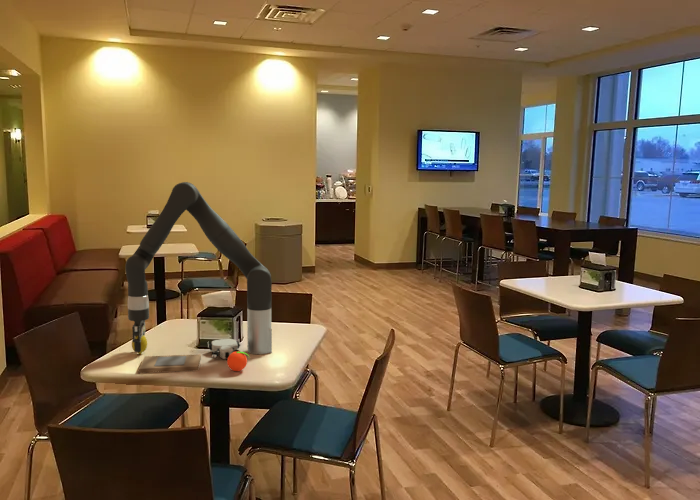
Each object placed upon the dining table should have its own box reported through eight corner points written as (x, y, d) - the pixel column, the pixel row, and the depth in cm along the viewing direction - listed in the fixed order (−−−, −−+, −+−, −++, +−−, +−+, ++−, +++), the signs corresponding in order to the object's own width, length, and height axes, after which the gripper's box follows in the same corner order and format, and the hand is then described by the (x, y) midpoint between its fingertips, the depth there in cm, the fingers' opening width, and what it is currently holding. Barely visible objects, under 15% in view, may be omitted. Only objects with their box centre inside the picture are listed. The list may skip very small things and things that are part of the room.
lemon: (142, 356, 223) (142, 336, 222) (129, 355, 224) (128, 335, 223) (150, 352, 228) (149, 332, 227) (137, 351, 230) (136, 331, 228)
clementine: (251, 367, 213) (251, 348, 212) (248, 374, 206) (248, 354, 206) (229, 367, 213) (229, 348, 212) (225, 373, 206) (225, 354, 205)
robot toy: (244, 362, 222) (238, 347, 236) (244, 350, 222) (238, 336, 236) (210, 364, 219) (207, 349, 233) (210, 353, 218) (207, 338, 232)
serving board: (200, 358, 223) (200, 353, 223) (198, 370, 209) (198, 365, 209) (144, 360, 219) (144, 355, 219) (138, 373, 205) (138, 368, 205)
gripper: (146, 311, 218) (147, 353, 220) (151, 302, 232) (152, 342, 234) (124, 311, 216) (125, 354, 218) (131, 302, 230) (132, 343, 232)
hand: (139, 348), depth 226 cm, fingers open, 8 cm apart
